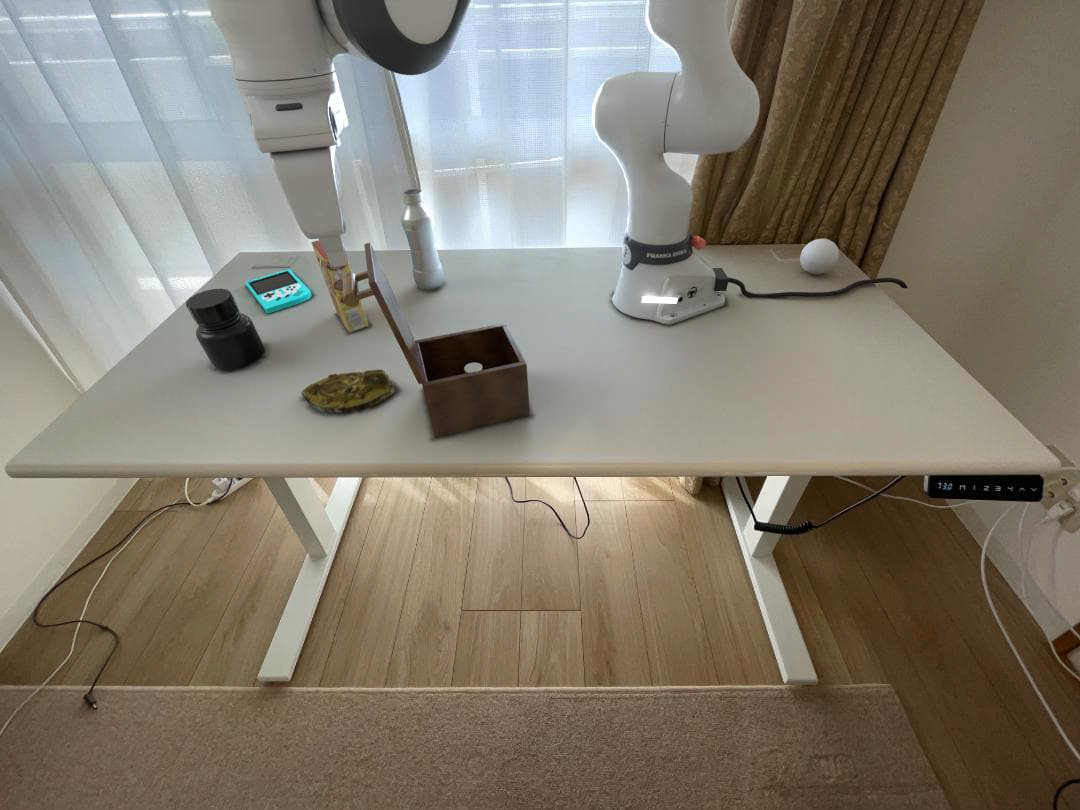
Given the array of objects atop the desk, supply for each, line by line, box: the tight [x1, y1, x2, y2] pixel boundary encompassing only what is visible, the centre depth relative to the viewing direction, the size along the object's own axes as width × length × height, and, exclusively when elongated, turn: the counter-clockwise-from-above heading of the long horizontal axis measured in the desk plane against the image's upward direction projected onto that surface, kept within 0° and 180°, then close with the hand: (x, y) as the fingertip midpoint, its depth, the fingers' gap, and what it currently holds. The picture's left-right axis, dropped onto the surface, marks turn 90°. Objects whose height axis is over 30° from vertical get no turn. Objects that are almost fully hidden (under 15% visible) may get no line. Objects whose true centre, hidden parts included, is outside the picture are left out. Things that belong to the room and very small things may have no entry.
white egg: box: [799, 238, 840, 275], centre depth 106 cm, size 10×7×7 cm
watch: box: [464, 363, 483, 374], centre depth 75 cm, size 6×3×6 cm, turn 178°
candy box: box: [311, 239, 369, 333], centre depth 93 cm, size 9×4×15 cm, turn 33°
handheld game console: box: [245, 268, 312, 314], centre depth 107 cm, size 10×16×1 cm, turn 39°
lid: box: [343, 242, 424, 385], centre depth 64 cm, size 15×12×5 cm
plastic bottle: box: [400, 188, 445, 290], centre depth 101 cm, size 6×7×20 cm
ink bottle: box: [185, 288, 266, 371], centre depth 85 cm, size 10×9×12 cm
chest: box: [415, 322, 531, 438], centre depth 74 cm, size 15×12×10 cm
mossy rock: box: [301, 369, 396, 414], centre depth 79 cm, size 9×5×15 cm
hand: (339, 247), depth 57 cm, fingers open, 8 cm apart
